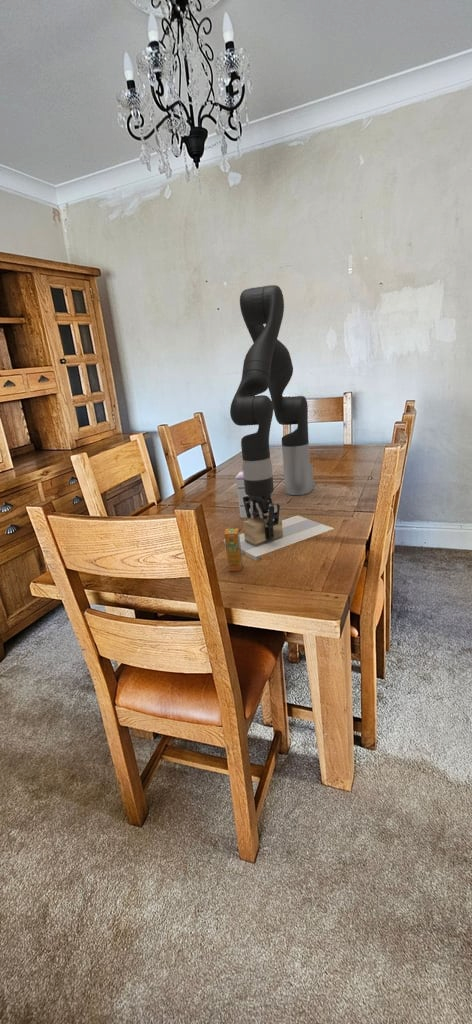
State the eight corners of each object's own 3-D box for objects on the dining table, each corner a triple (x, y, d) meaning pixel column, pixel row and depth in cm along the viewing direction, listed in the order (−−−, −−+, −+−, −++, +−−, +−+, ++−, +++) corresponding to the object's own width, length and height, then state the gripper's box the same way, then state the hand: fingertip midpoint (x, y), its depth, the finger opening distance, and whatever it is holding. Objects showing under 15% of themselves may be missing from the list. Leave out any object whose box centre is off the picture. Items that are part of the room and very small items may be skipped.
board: (297, 519, 144) (297, 515, 144) (334, 532, 131) (334, 528, 131) (223, 543, 132) (223, 539, 132) (256, 561, 119) (255, 556, 119)
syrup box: (258, 520, 147) (254, 474, 142) (240, 521, 148) (235, 475, 143) (261, 514, 152) (257, 470, 147) (243, 515, 153) (238, 471, 149)
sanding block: (272, 531, 133) (270, 513, 131) (283, 536, 129) (281, 517, 127) (244, 540, 128) (242, 521, 127) (255, 545, 124) (253, 526, 123)
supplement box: (227, 572, 115) (223, 533, 112) (230, 565, 118) (225, 528, 115) (241, 571, 114) (237, 532, 111) (243, 565, 117) (239, 527, 114)
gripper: (286, 476, 119) (291, 539, 124) (254, 468, 131) (259, 526, 136) (262, 483, 115) (267, 548, 121) (231, 474, 127) (237, 533, 133)
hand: (263, 536), depth 128 cm, fingers closed on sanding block, 5 cm apart
